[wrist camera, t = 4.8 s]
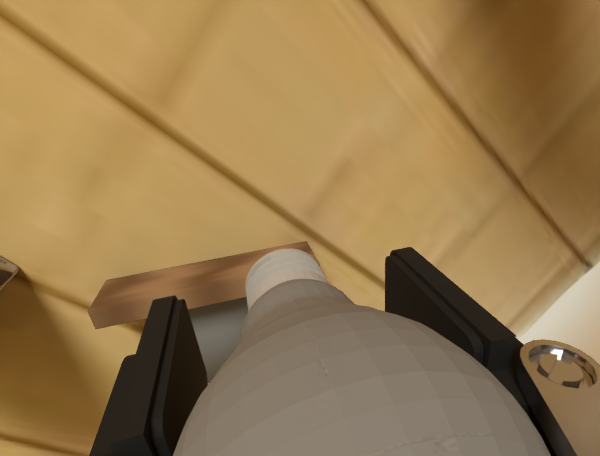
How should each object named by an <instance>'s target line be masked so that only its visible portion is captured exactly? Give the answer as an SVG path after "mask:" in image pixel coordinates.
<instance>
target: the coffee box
mask: <svg viewBox="0 0 600 456" xmlns="http://www.w3.org/2000/svg"><path fill="white" fill-rule="evenodd" d="M18 271H19V269H18V267H17V266H16V265H14V264H12V263H11V262H9V261H7V260H6V259H4V258H2V257H0V291H1V290H2V289H3V288H4V287H5V285H6V284H7V283H8V282H9V281H10V280H11V279H12V278H13V277H14V276H15V275H16V274H17V272H18Z"/></svg>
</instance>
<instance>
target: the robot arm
mask: <svg viewBox="0 0 600 456" xmlns="http://www.w3.org/2000/svg"><path fill="white" fill-rule="evenodd" d="M385 312H388V313H392V314H396V315H399V316H402V317H405V318H408V319H411V320H413V321H416V322H419V323H422V324H423V325H425V326H427V327H429V328H430V329H432V330H434V331H435V332H437V333H438V334H440V335H441V336H443V337H444V338H446V339H447V340H449V341H450V342H452V343H453V344H455V345H456V346H458V347H459V348H461V349H462V350H464V351H465V352H467V353H468V354H470V355H471V356H472V357H473V358H474V359H476V360H477V361H478V362H479V363H480V364H482V365H483V366H484V367H485V368H486V369H488V370H489V371H490V372H491V373H492V374H493V375H494V376H495V378H496V379H497V380H498V381H499V382H500V383H501V384H502V385H503V386H504V387H505V388H506V389H507V390H508V391H509V392H510V393H511V394H512V395H513V397H514V398H515V399H516V401H517V402H518V403H519V404H520V406H521V407H522V408H523V410H524V411H525V412H526V414H527V415H528V417H529V418H530V420H531V421H532V423H533V425H534V426H535V428H536V429H537V431H538V432H539V434H540V435H541V437H542V439H543V441H544V443H545V445H546V447H547V449H548V451H549V453H550V455H551V456H600V365H599V364H598V363H597V362H596V361H595V360H594V359H593V358H592V357H590V356H589V355H587V354H586V353H584V352H582V351H581V350H579V349H577V348H574V347H572V346H570V345H568V344H564V343H561V342H556V341H551V340H533V341H531V342H528V343H526V344H525V345H523V344H522V343H521V342H520V341H519V340H518V339H516V338H515V336H516V335H515V334H514V333H512V332H511V331H510V330H509V329H508V328H506V327H505V326H504V325H503V324H502V323H501V322H499V321H498V320H497V319H496V318H495V317H493V316H492V315H491V314H490V313H489V312H488V311H486V310H485V309H484V308H483V307H482V306H480V305H479V304H478V303H477V302H476V301H475V300H473V299H472V298H471V297H470V296H469V295H467V294H466V293H465V292H464V291H463V290H462V289H460V288H459V287H458V286H457V285H456V284H454V283H453V282H452V281H451V280H450V279H449V278H447V277H446V276H445V275H444V274H443V273H441V272H440V271H439V270H438V269H437V268H436V267H434V266H433V265H432V264H431V263H430V262H428V261H427V260H426V259H425V258H424V257H423V256H421V255H420V254H419V253H418V252H417V251H415V250H414V249H413V248H411V247H407V248H402V249H398V250H393V251H391V253H390V256H387V257H386V260H385ZM207 386H208V381H207V372H206V368H205V365H204V362H203V358H202V355H201V352H200V348H199V345H198V342H197V338H196V335H195V331H194V328H193V325H192V321H191V318H190V315H189V311H188V308H187V305H186V302H185V300H184V299H180V300H178V299H177V297H176V296H175V295H173V296H169V297H164V298H159V299H154V300H153V301H152V304H151V307H150V310H149V313H148V317H147V320H146V323H145V326H144V329H143V333H142V336H141V339H140V342H139V345H138V349H137V352H136V354H134V355H130V356H127V357H125V358H124V360H123V362H122V364H121V367H120V370H119V373H118V376H117V378H116V381H115V384H114V387H113V390H112V393H111V396H110V398H109V401H108V404H107V407H106V410H105V413H104V415H103V418H102V421H101V424H100V427H99V430H98V433H97V435H96V438H95V441H94V444H93V447H92V450H91V452H90V455H89V456H173V454H174V451H175V448H176V446H177V443H178V440H179V438H180V435H181V433H182V431H183V428H184V426H185V424H186V421H187V419H188V417H189V415H190V413H191V411H192V410H193V408H194V406H195V404H196V402H197V400H198V398H199V397H200V395H201V393H202V392H203V391H204V389H205V388H206V387H207Z"/></svg>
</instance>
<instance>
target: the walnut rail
mask: <svg viewBox="0 0 600 456" xmlns="http://www.w3.org/2000/svg"><path fill="white" fill-rule="evenodd" d="M291 248H292V249H298V250H301V251H304V252H306V253H308V254H309V255H311V256H312V257H313V258H314V259H315V260H316V262H317V263H318V265H319V262H318V260H317V259H316V257H315V255H314V253H313V252H312V250H311V248H310V247H309V245H308V243H307V241H305V242H300V243H295V244H290V245H285V246H280V247H275V248H269V249H264V250H259V251H254V252H249V253H244V254H239V255H234V256H228V257H223V258H218V259H213V260H208V261H203V262H198V263H192V264H187V265H182V266H177V267H172V268H167V269H162V270H157V271H151V272H146V273H141V274H136V275H131V276H126V277H121V278H116V279H110V280H106V281H105V283H104V285H103V286H102V288H101V290H100V291H99V293H98V295H97V297H96V298H95V300H94V302H93V303H92V305H91V307H90V309H89V310H88V313H89V316H90V318H91V320H92V322H93V325H94V327H95V329H100V328H104V327H109V326H113V325H118V324H123V323H127V322H132V321H137V320H141V319H146V318H147V317H148V313H149V310H150V307H151V304H152V301H153V300H154V299H159V298H164V297H169V296H173V295H175V296H176V297H177V299H178V300H180V299H184V300H185V302H186V305H187V308H188V309H192V308H197V307H201V306H206V305H211V304H215V303H220V302H224V301H229V300H234V299H238V298H243V297H246V290H245V284H246V278H247V275H248V273H249V271H250V269H251V268H252V266H253V265H254V264H255V263H256V262H257V261H258V260H259V259H260V258H261V257H263V256H265V255H266V254H268V253H270V252H273V251H275V250H280V249H291ZM319 267H320V266H319Z"/></svg>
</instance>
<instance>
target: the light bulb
mask: <svg viewBox="0 0 600 456" xmlns="http://www.w3.org/2000/svg"><path fill="white" fill-rule="evenodd" d="M245 290H246V297H247V305H248V313H247V315H246V317H245V319H244V321H243V324H242V328H241V331H240V337H239V345H238V347H237V348H236V350H235V351H234V352H233V353H232V354H231V356H230V357H229V358H228V359H227V360H226V361H225V363H224V364H223V365H222V366H221V368H220V369H219V371H218V372H217V374H216V375H215V377H214V378H213V379H212V380H211V382H210V383H209V384H208V386H207V387H206V388H205V389H204V391H203V392H202V393H201V395H200V397H199V398H198V400H197V402H196V404H195V406H194V408H193V410H192V411H191V413H190V415H189V417H188V419H187V421H186V424H185V426H184V428H183V431H182V433H181V435H180V438H179V440H178V443H177V446H176V448H175V451H174V454H173V456H551V455H550V453H549V451H548V449H547V447H546V445H545V443H544V441H543V439H542V437H541V435H540V434H539V432H538V431H537V429H536V428H535V426H534V425H533V423H532V421H531V420H530V418H529V417H528V415H527V414H526V412H525V411H524V410H523V408H522V407H521V406H520V404H519V403H518V402H517V401H516V399H515V398H514V397H513V395H512V394H511V393H510V392H509V391H508V390H507V389H506V388H505V387H504V386H503V385H502V384H501V383H500V382H499V381H498V380H497V379H496V378H495V376H494V375H493V374H492V373H491V372H490V371H489V370H488V369H486V368H485V367H484V366H483V365H482V364H480V363H479V362H478V361H477V360H476V359H474V358H473V357H472V356H471V355H470V354H468V353H467V352H465V351H464V350H462V349H461V348H459V347H458V346H456V345H455V344H453V343H452V342H450V341H449V340H447V339H446V338H444V337H443V336H441V335H440V334H438V333H437V332H435V331H434V330H432V329H430V328H429V327H427V326H425V325H423V324H422V323H419V322H416V321H413V320H411V319H408V318H405V317H402V316H399V315H396V314H392V313H388V312H384V311H380V310H377V309H374V308H371V307H367V306H359V305H356V304H354V303H353V302H352V301H351V300H350V299H349V298H348V297H347V296H346V295H345V294H344V293H343V292H342V291H340V290H339V289H337V288H336V287H334V286H332V285H330V284H329V283H328V281H327V280H326V278H325V276H324V274H323V272H322V271H321V269H320V267H319V265H318V263H317V262H316V260H315V259H314V258H313V257H312V256H311V255H309V254H308V253H306V252H304V251H301V250H298V249H292V248H291V249H280V250H275V251H273V252H270V253H268V254H266V255H265V256H263V257H261V258H260V259H259V260H258V261H257V262H256V263H255V264H254V265H253V266H252V268H251V269H250V271H249V273H248V275H247V278H246V284H245Z"/></svg>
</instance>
